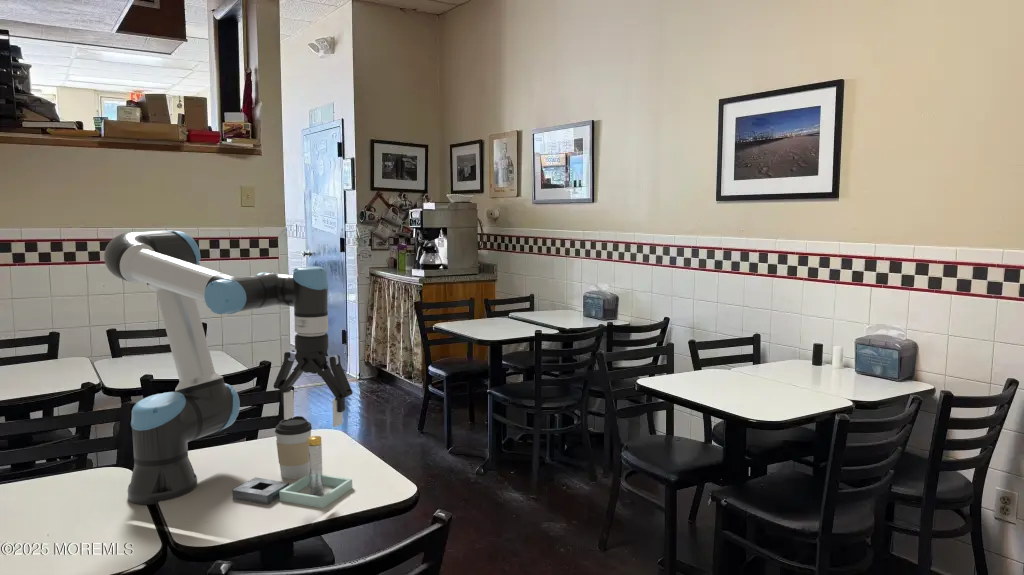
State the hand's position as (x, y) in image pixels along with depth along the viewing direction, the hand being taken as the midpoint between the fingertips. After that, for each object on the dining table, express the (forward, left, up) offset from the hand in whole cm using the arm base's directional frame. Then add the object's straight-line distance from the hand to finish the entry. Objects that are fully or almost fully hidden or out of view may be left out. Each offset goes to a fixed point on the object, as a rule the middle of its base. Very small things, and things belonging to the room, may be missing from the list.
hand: (313, 421), depth 162 cm
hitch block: (-12, -5, -19) cm, 22 cm away
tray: (0, 0, -19) cm, 19 cm away
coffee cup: (-13, +9, -19) cm, 24 cm away
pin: (0, 0, -18) cm, 18 cm away
